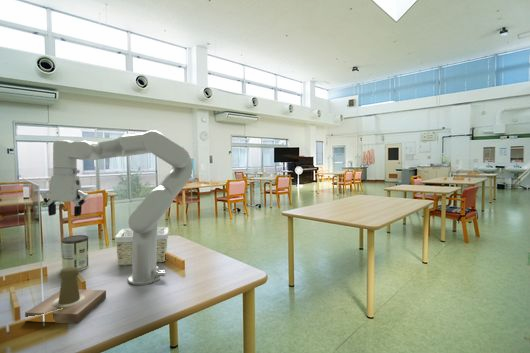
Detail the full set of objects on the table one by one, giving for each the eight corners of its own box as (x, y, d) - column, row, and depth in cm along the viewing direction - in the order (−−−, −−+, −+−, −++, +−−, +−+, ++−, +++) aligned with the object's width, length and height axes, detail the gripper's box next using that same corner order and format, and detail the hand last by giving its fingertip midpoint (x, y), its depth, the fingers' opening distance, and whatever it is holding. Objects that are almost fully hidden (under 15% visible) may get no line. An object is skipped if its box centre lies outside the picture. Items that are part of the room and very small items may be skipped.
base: (106, 298, 103) (106, 289, 103) (77, 323, 87) (77, 313, 87) (62, 296, 103) (62, 288, 102) (25, 322, 87) (25, 312, 86)
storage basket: (113, 267, 132) (113, 236, 131) (121, 255, 147) (121, 228, 147) (167, 263, 139) (167, 234, 138) (168, 252, 154) (169, 226, 153)
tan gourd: (68, 305, 91) (68, 272, 90) (53, 303, 92) (53, 270, 92) (84, 296, 97) (84, 265, 96) (69, 294, 98) (69, 264, 98)
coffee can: (71, 263, 134) (71, 234, 134) (93, 264, 135) (93, 235, 134) (56, 272, 124) (55, 240, 123) (79, 272, 124) (79, 241, 124)
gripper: (93, 172, 114) (92, 214, 115) (49, 171, 113) (49, 213, 114) (82, 173, 106) (81, 218, 107) (34, 171, 106) (34, 216, 106)
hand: (65, 215), depth 111 cm, fingers open, 9 cm apart
